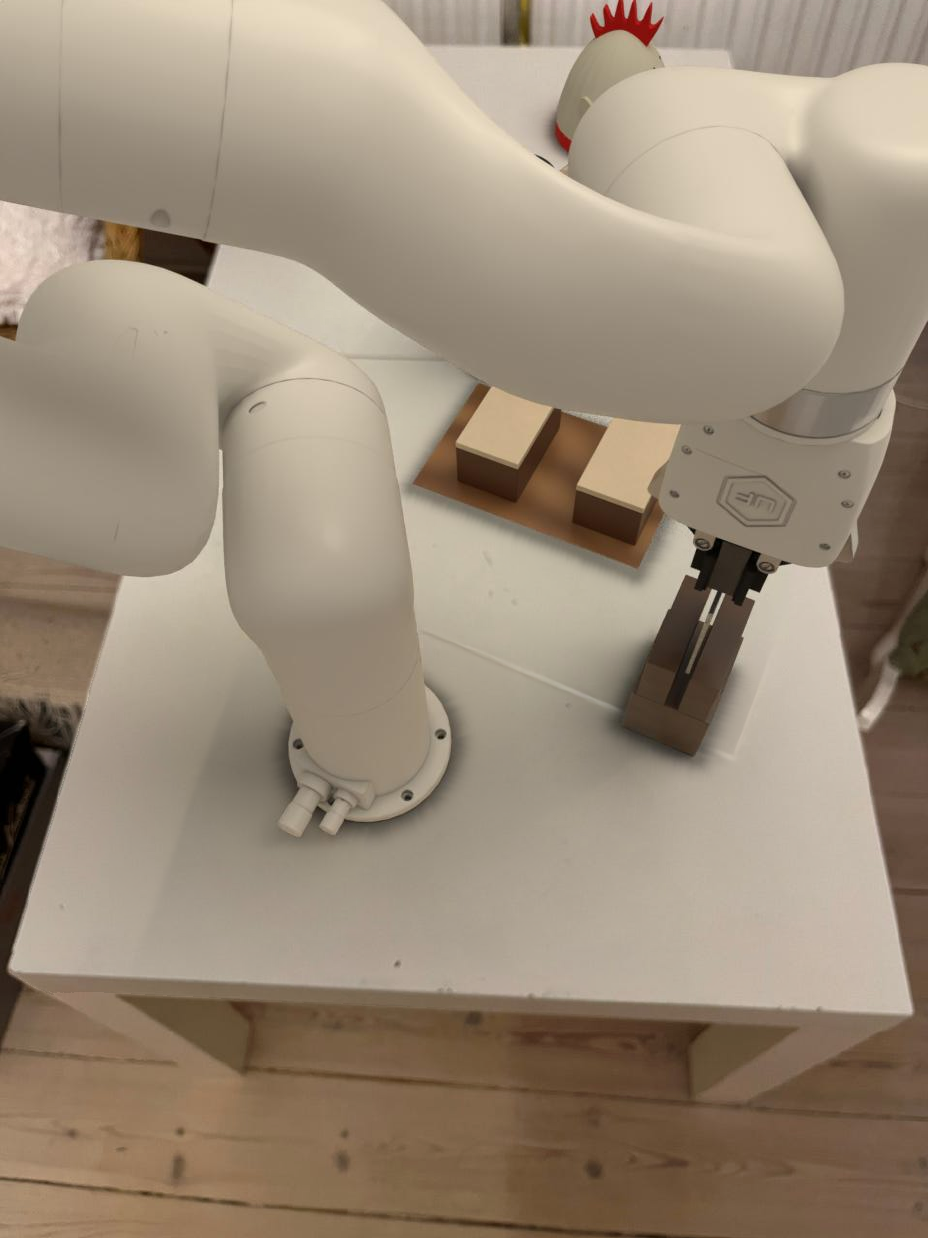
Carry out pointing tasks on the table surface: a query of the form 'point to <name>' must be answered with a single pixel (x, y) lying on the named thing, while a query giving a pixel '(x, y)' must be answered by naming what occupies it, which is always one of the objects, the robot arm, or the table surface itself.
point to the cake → (505, 443)
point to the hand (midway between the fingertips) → (724, 579)
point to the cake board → (538, 486)
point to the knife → (723, 582)
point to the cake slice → (623, 478)
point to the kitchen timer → (606, 64)
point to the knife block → (663, 689)
